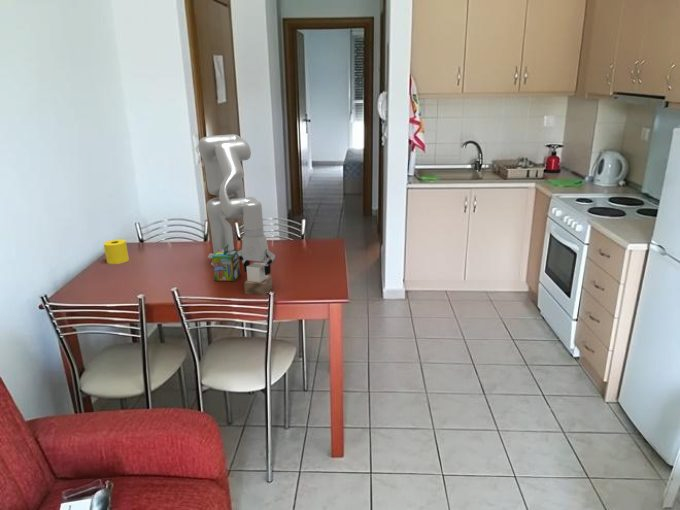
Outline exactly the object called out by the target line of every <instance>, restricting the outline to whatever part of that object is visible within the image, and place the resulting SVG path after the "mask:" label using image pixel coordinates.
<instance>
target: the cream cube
mask: <svg viewBox="0 0 680 510" xmlns="http://www.w3.org/2000/svg"><path fill="white" fill-rule="evenodd" d="M264 266H266V265H265V264H264V263H263V262H257V261H253V262H252V263H251V264H250V265H249V266H247V267H246V268H247V273H246V278H247V279H248V281H253V282H262V281H264V280H265V279H267V278H268V276H269V274H268V275H265V268H264ZM247 279H246V280H247Z"/></svg>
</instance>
